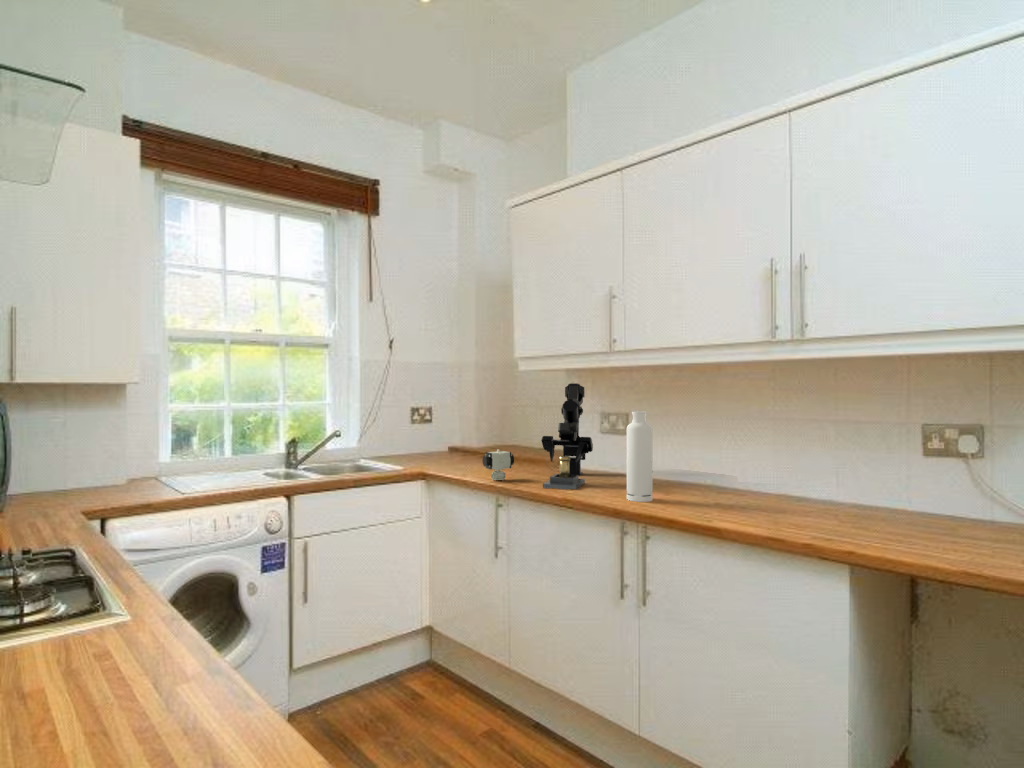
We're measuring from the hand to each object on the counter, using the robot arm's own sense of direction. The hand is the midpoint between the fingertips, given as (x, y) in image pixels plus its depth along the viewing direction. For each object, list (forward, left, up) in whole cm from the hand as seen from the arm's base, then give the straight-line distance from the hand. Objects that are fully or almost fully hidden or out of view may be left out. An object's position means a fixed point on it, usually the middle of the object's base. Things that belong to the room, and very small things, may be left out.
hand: (563, 461), depth 209 cm
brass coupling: (-1, 0, -8) cm, 8 cm away
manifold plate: (-1, 0, -9) cm, 9 cm away
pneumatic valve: (-5, -27, -9) cm, 29 cm away
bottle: (+18, +29, -9) cm, 35 cm away
